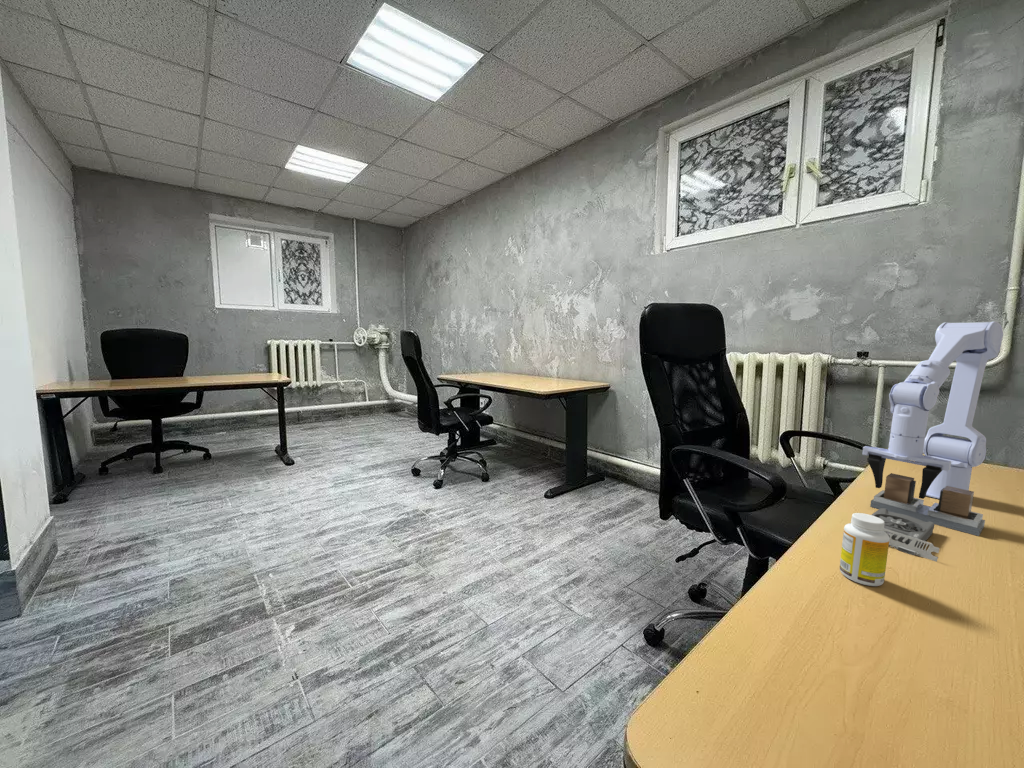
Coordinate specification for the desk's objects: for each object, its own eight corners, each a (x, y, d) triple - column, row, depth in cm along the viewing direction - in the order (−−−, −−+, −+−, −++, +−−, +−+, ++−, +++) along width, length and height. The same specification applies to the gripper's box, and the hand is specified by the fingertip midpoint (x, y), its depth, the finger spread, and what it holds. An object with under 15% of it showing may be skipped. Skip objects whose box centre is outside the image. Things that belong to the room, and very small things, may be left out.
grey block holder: (879, 499, 100) (883, 470, 99) (984, 526, 86) (989, 492, 86) (870, 506, 96) (874, 476, 95) (978, 536, 82) (984, 500, 81)
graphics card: (938, 547, 71) (852, 520, 81) (934, 567, 71) (849, 537, 81) (956, 525, 81) (877, 502, 90) (953, 542, 81) (875, 519, 91)
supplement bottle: (890, 582, 65) (899, 522, 64) (872, 591, 63) (881, 528, 61) (849, 565, 70) (856, 508, 69) (831, 572, 68) (838, 513, 66)
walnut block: (883, 500, 95) (886, 476, 94) (887, 497, 97) (891, 473, 97) (908, 507, 92) (912, 481, 91) (913, 503, 94) (916, 478, 93)
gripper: (861, 430, 96) (854, 485, 98) (950, 444, 85) (940, 506, 86) (870, 427, 100) (863, 480, 102) (956, 440, 89) (947, 499, 90)
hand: (899, 492), depth 94 cm, fingers open, 7 cm apart
